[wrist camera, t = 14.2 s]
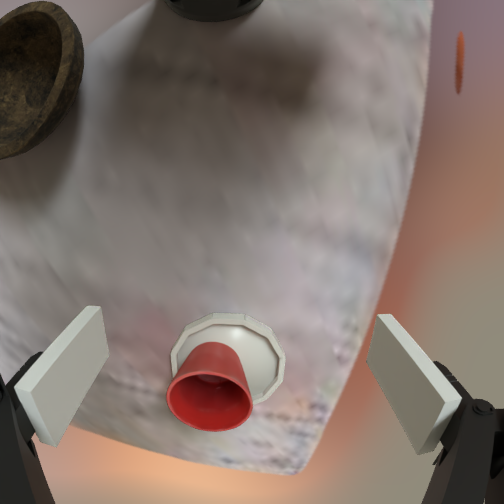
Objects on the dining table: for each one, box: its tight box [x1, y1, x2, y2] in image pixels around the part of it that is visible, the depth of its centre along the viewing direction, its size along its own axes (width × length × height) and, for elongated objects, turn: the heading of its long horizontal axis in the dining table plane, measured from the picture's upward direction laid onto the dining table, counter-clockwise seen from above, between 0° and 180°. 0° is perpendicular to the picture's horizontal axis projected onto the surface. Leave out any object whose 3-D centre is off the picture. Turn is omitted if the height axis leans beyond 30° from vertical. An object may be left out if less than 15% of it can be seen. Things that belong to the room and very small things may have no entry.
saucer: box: [171, 313, 286, 405], centre depth 45 cm, size 17×17×2 cm
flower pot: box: [166, 342, 253, 432], centre depth 41 cm, size 11×11×10 cm
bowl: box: [0, 1, 84, 160], centre depth 30 cm, size 22×22×10 cm
